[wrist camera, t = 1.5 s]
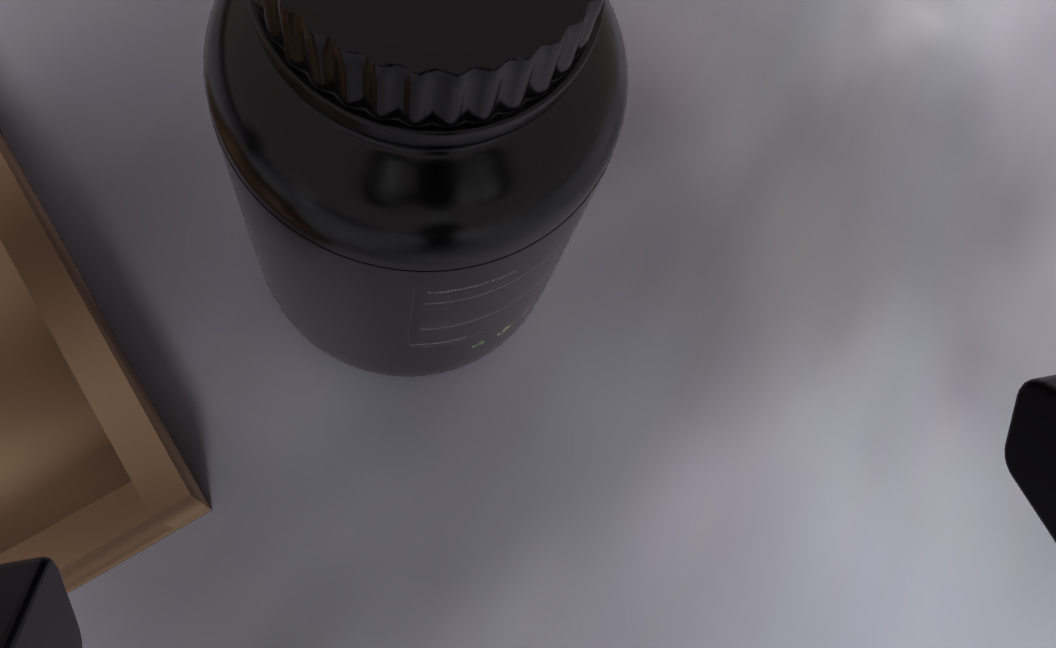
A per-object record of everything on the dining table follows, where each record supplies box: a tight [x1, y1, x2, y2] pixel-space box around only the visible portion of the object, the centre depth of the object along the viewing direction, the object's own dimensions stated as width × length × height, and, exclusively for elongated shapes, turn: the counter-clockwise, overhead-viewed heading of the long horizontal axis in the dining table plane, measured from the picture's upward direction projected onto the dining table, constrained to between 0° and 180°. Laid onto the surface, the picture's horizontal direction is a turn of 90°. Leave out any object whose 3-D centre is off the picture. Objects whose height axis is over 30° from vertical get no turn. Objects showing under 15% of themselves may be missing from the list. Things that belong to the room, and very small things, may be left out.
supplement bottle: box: [204, 0, 628, 376], centre depth 18 cm, size 7×7×12 cm
